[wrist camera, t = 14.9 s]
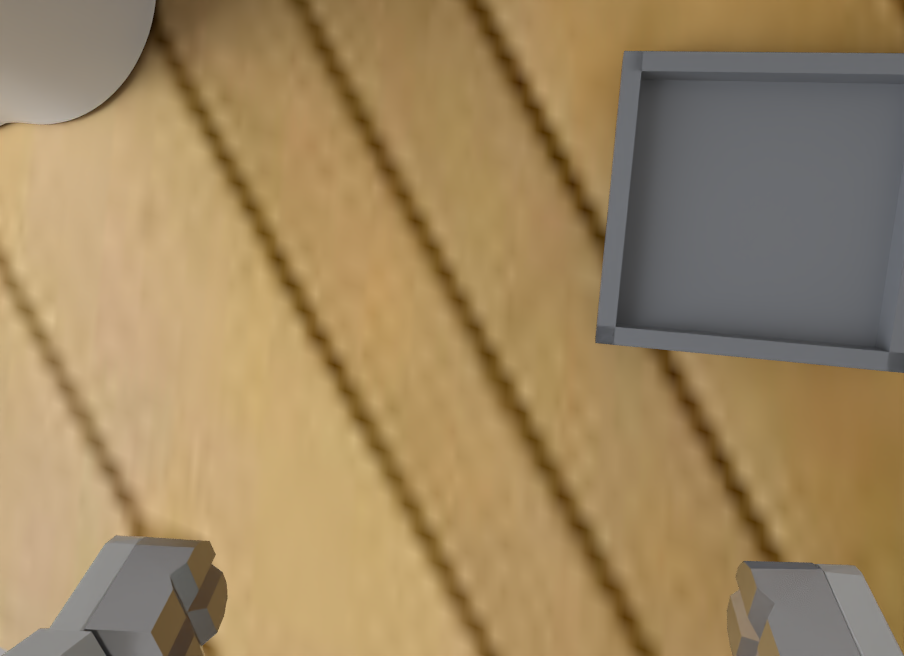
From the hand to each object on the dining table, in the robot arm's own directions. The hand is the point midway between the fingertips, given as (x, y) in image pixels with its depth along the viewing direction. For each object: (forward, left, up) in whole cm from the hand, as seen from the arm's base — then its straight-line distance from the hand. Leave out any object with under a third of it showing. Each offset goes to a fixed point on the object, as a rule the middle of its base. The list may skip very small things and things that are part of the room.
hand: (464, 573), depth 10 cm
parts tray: (+2, +11, -22) cm, 25 cm away
